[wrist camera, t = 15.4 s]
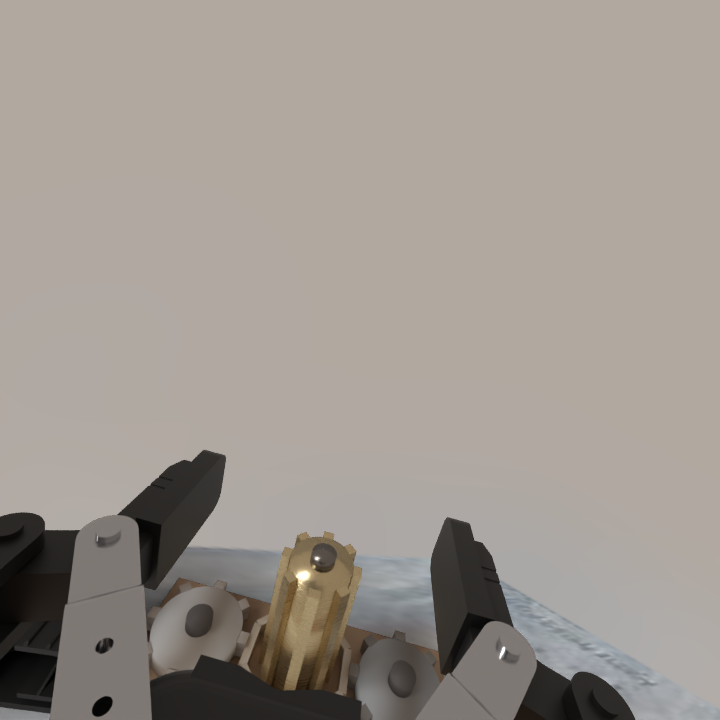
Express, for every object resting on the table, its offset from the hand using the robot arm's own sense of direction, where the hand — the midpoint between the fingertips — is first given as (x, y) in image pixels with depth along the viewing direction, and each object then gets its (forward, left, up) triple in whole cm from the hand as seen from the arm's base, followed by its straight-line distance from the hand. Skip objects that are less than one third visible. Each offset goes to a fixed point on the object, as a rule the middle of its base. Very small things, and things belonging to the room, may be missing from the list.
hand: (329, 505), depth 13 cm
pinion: (0, +10, -24) cm, 26 cm away
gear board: (0, +10, -25) cm, 27 cm away
